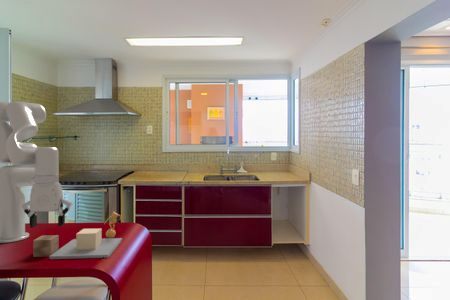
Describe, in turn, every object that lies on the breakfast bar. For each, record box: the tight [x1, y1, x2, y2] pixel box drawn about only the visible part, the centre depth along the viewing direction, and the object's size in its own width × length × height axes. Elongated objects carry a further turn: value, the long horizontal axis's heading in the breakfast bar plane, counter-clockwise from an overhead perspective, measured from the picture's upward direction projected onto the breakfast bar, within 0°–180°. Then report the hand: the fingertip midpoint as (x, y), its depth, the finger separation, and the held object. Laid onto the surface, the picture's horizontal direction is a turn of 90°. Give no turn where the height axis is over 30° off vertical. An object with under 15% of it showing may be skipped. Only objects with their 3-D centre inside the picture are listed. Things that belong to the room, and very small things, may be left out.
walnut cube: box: [32, 234, 60, 258], centre depth 109 cm, size 6×6×6 cm
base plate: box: [49, 227, 123, 260], centre depth 114 cm, size 20×20×7 cm
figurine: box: [104, 210, 122, 238], centre depth 127 cm, size 8×6×12 cm
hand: (47, 226), depth 108 cm, fingers open, 9 cm apart
